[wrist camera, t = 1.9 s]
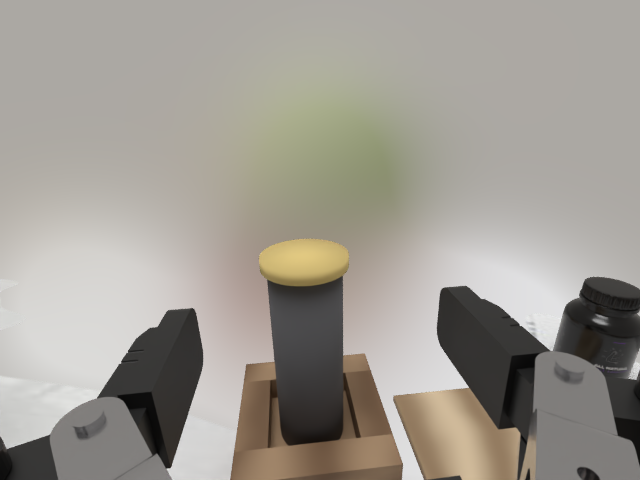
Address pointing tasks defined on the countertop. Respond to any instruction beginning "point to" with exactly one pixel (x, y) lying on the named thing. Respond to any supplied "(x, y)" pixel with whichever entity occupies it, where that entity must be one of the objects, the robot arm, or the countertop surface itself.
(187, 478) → the countertop surface
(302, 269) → the plug
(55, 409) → the countertop surface
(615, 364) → the supplement bottle
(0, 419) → the countertop surface
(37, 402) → the countertop surface
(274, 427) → the socket block
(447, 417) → the cork mat
